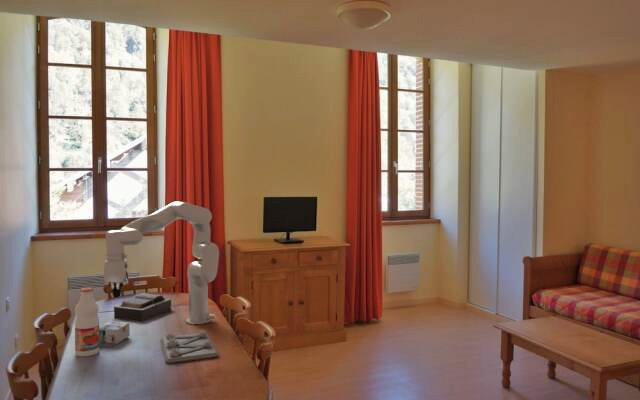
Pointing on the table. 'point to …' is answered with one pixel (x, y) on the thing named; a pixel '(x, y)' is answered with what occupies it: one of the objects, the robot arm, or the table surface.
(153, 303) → the dark grey open box
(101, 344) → the mat
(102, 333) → the light bulb box
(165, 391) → the table surface
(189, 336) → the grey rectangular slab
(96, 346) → the fruit juice
